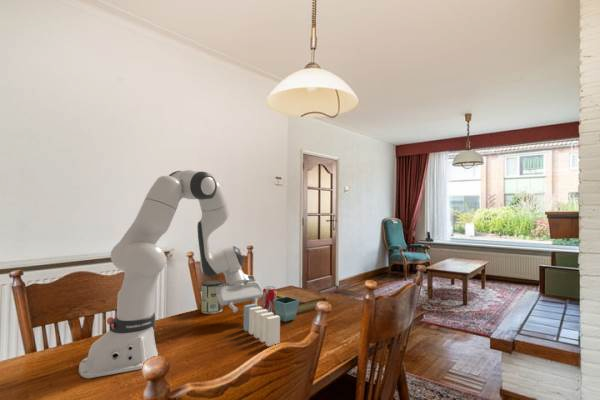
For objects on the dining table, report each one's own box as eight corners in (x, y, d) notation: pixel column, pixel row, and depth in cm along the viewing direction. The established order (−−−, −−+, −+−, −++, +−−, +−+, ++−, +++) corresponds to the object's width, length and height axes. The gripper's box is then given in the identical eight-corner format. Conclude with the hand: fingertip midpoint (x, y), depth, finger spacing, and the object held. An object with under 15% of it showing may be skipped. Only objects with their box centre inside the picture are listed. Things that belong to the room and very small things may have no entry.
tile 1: (250, 334, 129) (251, 309, 130) (248, 333, 131) (249, 308, 131) (261, 332, 132) (262, 307, 133) (259, 330, 134) (259, 306, 134)
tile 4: (268, 346, 118) (268, 319, 119) (265, 344, 120) (266, 317, 120) (279, 343, 121) (280, 316, 122) (276, 341, 123) (277, 315, 123)
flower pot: (272, 319, 148) (272, 299, 148) (287, 315, 154) (287, 296, 154) (284, 324, 141) (284, 303, 142) (299, 320, 147) (299, 300, 148)
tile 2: (256, 338, 126) (256, 312, 126) (253, 336, 127) (254, 311, 128) (267, 335, 129) (267, 310, 129) (264, 334, 130) (265, 309, 131)
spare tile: (245, 331, 133) (246, 306, 133) (243, 329, 134) (243, 305, 135) (256, 328, 136) (256, 304, 136) (254, 327, 137) (254, 303, 138)
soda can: (274, 315, 153) (274, 289, 154) (260, 314, 155) (260, 288, 155) (278, 310, 160) (278, 286, 161) (264, 309, 162) (264, 285, 162)
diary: (326, 308, 168) (326, 296, 168) (298, 315, 156) (298, 303, 156) (297, 298, 185) (297, 287, 185) (271, 303, 173) (271, 293, 173)
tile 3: (262, 342, 122) (262, 315, 122) (259, 340, 124) (260, 314, 124) (273, 339, 125) (273, 313, 125) (270, 337, 127) (271, 312, 127)
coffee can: (215, 306, 166) (216, 278, 167) (226, 310, 159) (227, 282, 160) (197, 310, 159) (197, 281, 159) (208, 315, 152) (208, 285, 152)
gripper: (216, 281, 139) (225, 310, 131) (258, 276, 151) (269, 302, 143) (212, 289, 143) (221, 318, 135) (254, 283, 155) (263, 309, 147)
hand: (246, 309), depth 139 cm, fingers open, 8 cm apart
